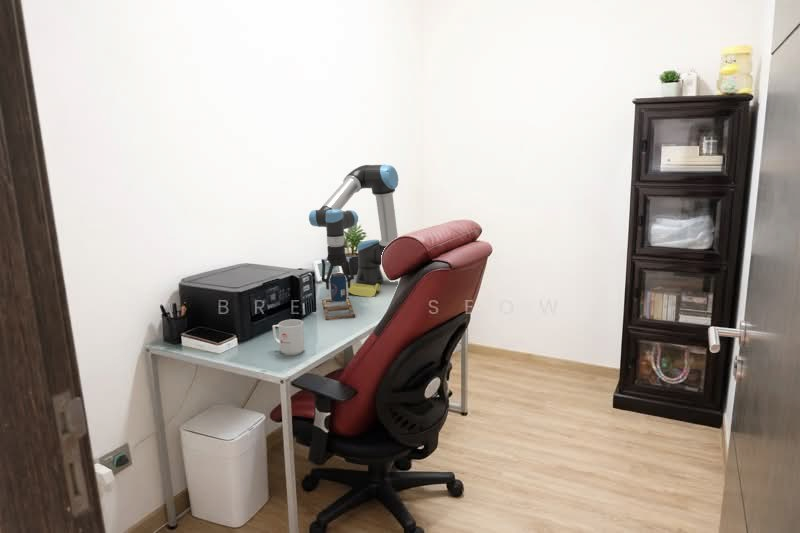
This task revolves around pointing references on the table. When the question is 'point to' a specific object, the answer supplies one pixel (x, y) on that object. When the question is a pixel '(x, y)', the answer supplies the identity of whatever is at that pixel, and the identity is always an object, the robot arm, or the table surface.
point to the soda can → (338, 287)
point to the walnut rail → (335, 308)
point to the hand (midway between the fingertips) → (338, 295)
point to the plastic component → (363, 289)
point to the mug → (290, 336)
